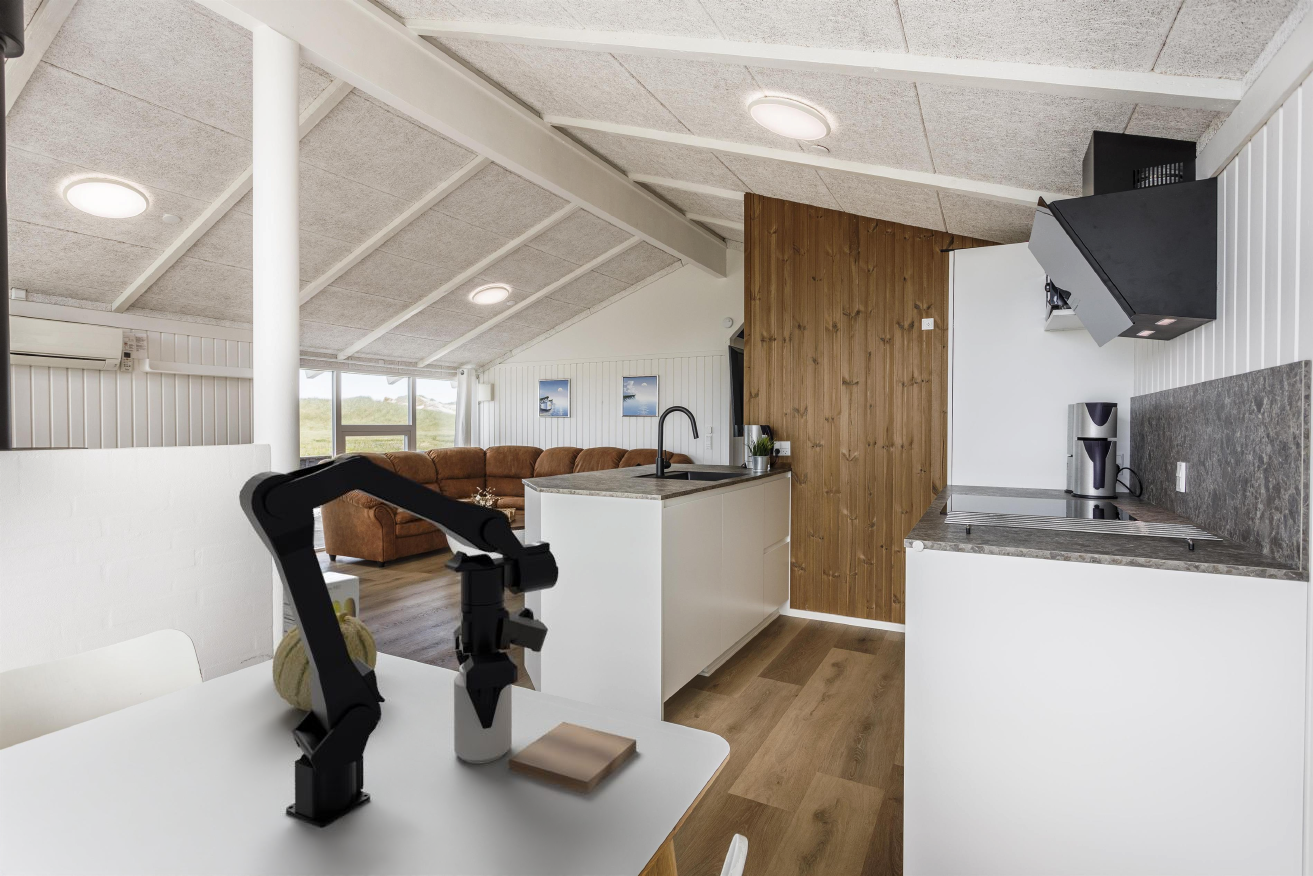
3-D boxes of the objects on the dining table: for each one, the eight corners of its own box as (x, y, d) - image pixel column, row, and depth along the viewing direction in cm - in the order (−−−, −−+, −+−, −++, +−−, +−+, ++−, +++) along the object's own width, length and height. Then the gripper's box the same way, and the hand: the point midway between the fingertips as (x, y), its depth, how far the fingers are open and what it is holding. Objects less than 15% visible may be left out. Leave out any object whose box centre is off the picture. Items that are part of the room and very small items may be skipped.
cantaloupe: (277, 697, 107) (276, 605, 107) (375, 683, 113) (375, 596, 113) (266, 736, 94) (266, 631, 93) (378, 717, 100) (378, 618, 100)
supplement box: (310, 684, 113) (309, 586, 112) (280, 674, 117) (279, 579, 117) (361, 667, 121) (360, 575, 121) (330, 658, 126) (330, 570, 125)
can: (503, 767, 85) (503, 674, 85) (446, 766, 85) (445, 674, 85) (517, 740, 92) (517, 654, 92) (464, 739, 93) (464, 654, 92)
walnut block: (587, 798, 79) (587, 782, 79) (508, 774, 84) (508, 758, 84) (636, 754, 89) (636, 740, 89) (563, 735, 95) (563, 721, 95)
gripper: (558, 611, 83) (558, 735, 83) (529, 580, 100) (529, 682, 100) (466, 621, 79) (466, 751, 79) (452, 587, 96) (453, 693, 96)
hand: (483, 715), depth 89 cm, fingers closed on can, 7 cm apart
